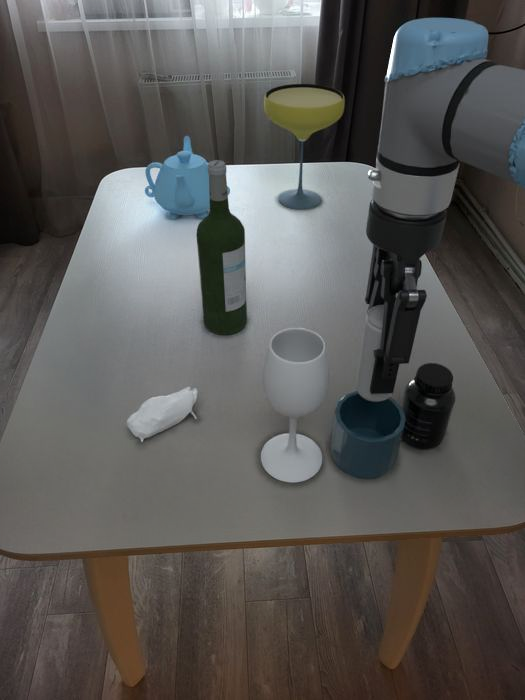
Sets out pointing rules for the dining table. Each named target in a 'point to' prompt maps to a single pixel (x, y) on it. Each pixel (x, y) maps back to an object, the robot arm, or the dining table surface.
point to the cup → (366, 435)
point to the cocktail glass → (303, 124)
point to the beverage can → (370, 354)
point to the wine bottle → (222, 259)
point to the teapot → (181, 184)
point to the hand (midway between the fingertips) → (376, 375)
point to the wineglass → (294, 400)
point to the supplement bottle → (428, 406)
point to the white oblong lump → (161, 413)
